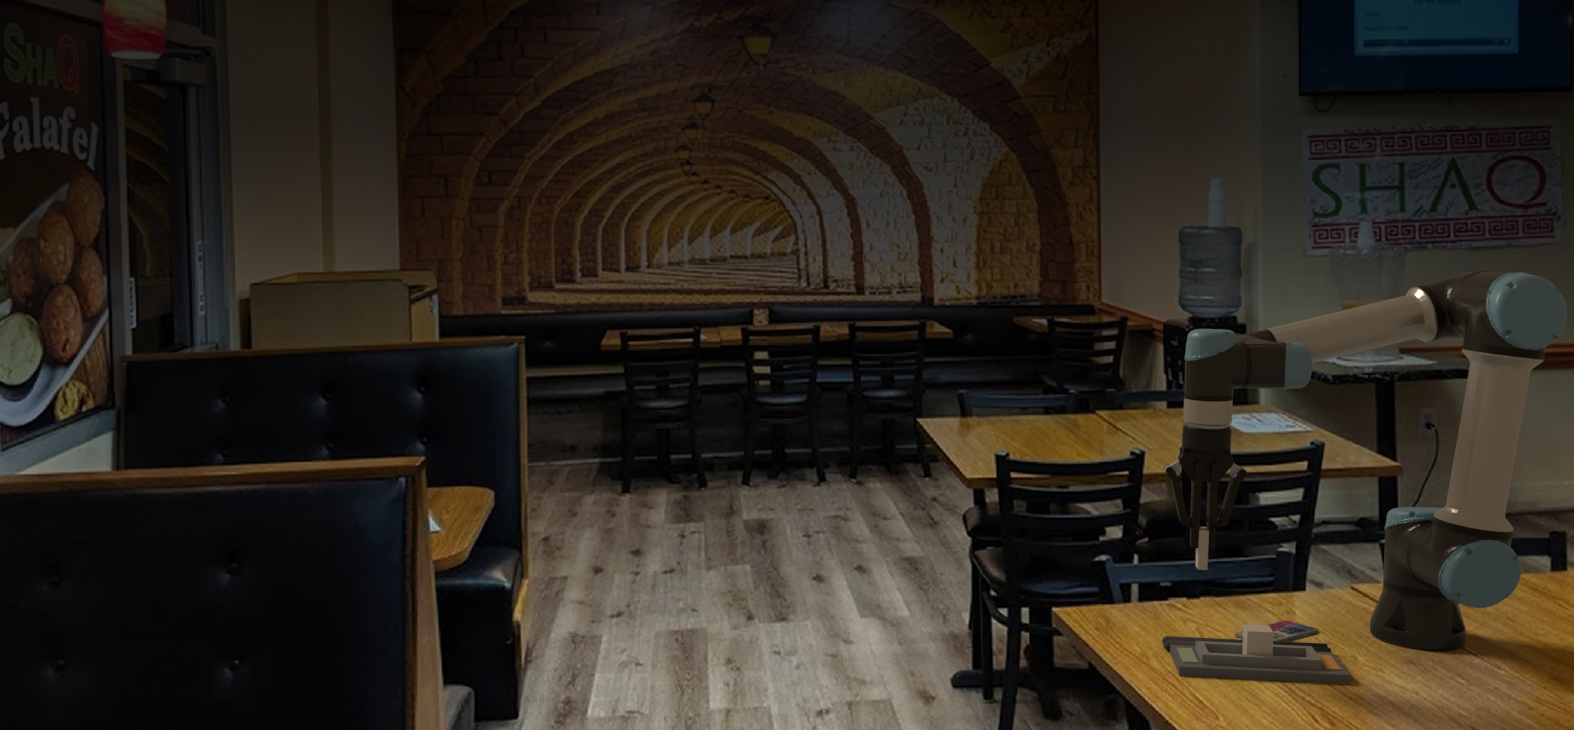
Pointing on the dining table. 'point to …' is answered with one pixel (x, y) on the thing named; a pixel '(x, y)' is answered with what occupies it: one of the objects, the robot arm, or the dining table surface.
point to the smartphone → (1287, 631)
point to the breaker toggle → (1257, 640)
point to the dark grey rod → (1240, 641)
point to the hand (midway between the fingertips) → (1201, 567)
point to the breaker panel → (1258, 663)
